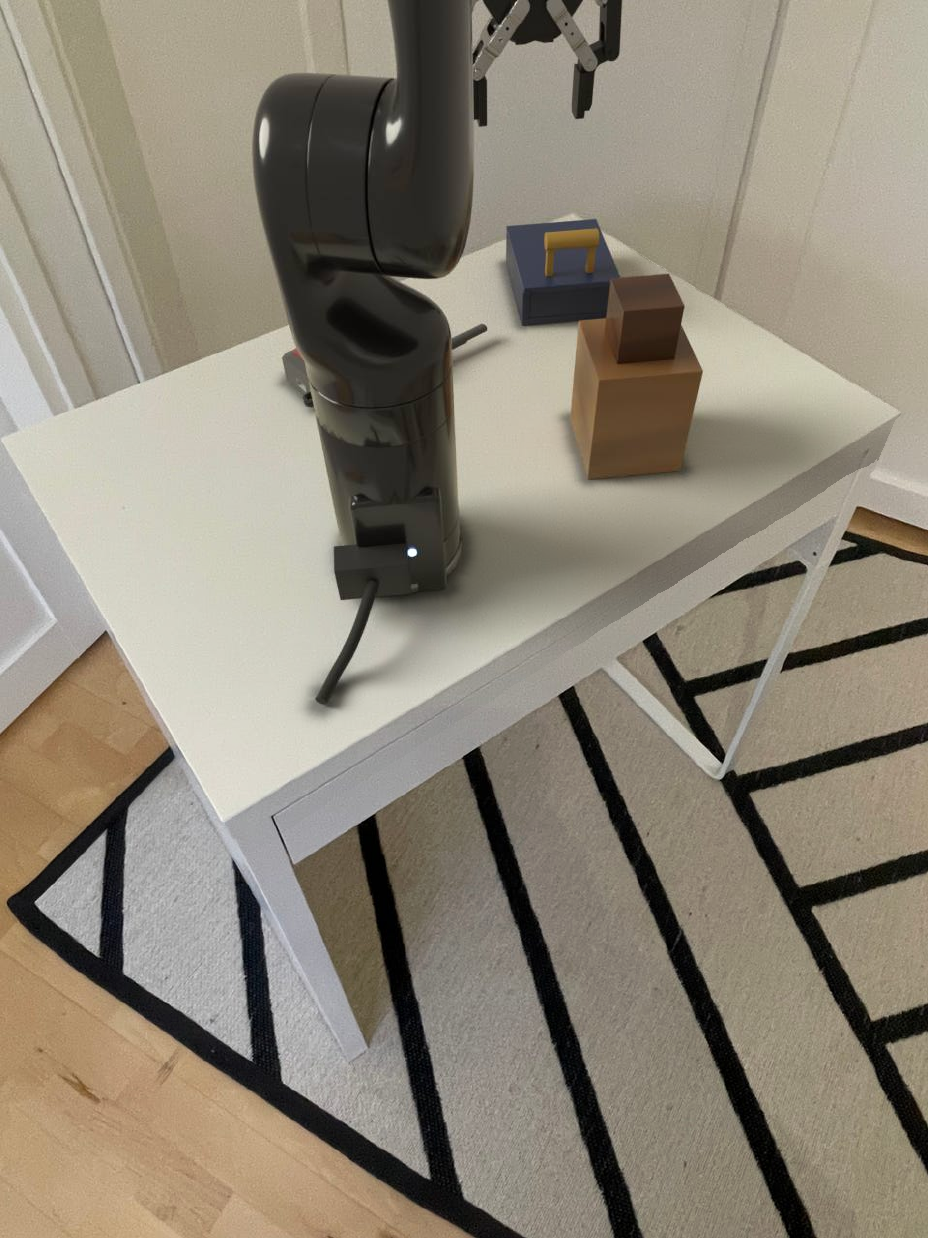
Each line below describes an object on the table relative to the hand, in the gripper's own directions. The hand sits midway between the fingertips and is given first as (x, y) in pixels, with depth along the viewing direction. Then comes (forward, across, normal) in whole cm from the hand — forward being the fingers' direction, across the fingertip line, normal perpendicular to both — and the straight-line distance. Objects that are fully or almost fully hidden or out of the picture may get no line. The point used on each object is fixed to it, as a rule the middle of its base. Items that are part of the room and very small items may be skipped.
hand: (530, 119), depth 75 cm
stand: (+18, +5, -24) cm, 30 cm away
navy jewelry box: (+18, +4, +2) cm, 18 cm away
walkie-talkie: (+18, -15, -8) cm, 25 cm away
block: (+8, +5, -24) cm, 25 cm away
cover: (+14, +4, +1) cm, 14 cm away
